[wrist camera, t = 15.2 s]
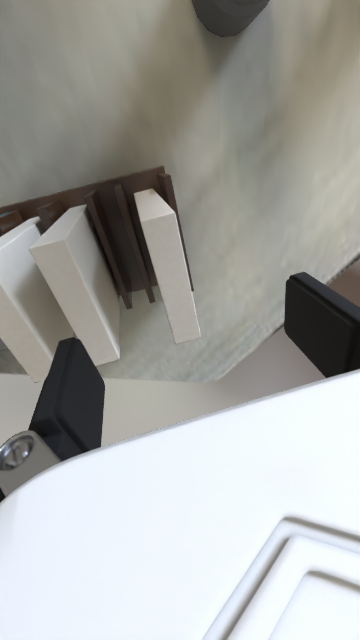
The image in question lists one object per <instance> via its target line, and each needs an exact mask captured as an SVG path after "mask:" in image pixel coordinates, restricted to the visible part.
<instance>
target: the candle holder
mask: <svg viewBox="0 0 360 640" xmlns="http://www.w3.org/2000/svg"><path fill="white" fill-rule="evenodd" d="M192 2H193V5H194V8H195V11H196V13H197V16H198V18H199V19H200V20H201V22H202V23H203V24H204V25H205V27H206V28H207V29H208V30H209V31H211V32H213V33H215V34H217V35H219V36H221V37H224V36H232V35H236V34H238V33H239V32H240V31H241V30H243V29H244V28H245V27H247V26H248V25H249V24H250V23H251V22H252V21H253V20H254V19H255V17H256V16H257V15H258V14H259V13H260V12H261V11H262V10H263V9H264V8H265V7H266V5H267V3H268V2H269V0H192Z"/></svg>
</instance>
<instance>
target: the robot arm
mask: <svg viewBox="0 0 360 640" xmlns="http://www.w3.org/2000/svg"><path fill="white" fill-rule="evenodd" d="M284 329H285V332H286V334H287V335H288V337H289V338H290V339H291V340H292V341H293V342H294V343H295V344H296V345H297V346H298V347H299V349H300V350H301V351H302V352H303V353H304V354H305V355H306V356H307V357H308V359H309V360H310V361H311V362H312V363H313V364H314V365H315V366H316V367H317V368H318V370H319V371H320V372H321V373H322V374H323V375H324V376H325V377H326V379H323V380H319V381H316V382H313V383H309V384H306V385H302V386H299V387H296V388H292V389H289V390H285V391H282V392H279V393H275V394H272V395H269V396H265V397H262V398H258V399H255V400H252V401H249V402H245V403H242V404H239V405H235V406H232V407H229V408H225V409H222V410H219V411H215V412H212V413H209V414H205V415H203V416H199V417H196V418H192V419H189V420H186V421H183V422H179V423H176V424H173V425H169V426H166V427H163V428H160V429H157V430H153V431H150V432H147V433H144V434H140V435H137V436H134V437H131V438H128V439H124V440H121V441H118V442H115V443H112V444H109V445H106V446H103V447H101V437H102V423H103V422H102V421H103V408H104V394H105V385H104V381H103V379H102V377H101V375H100V374H99V372H98V370H97V368H96V367H95V365H94V363H93V361H92V359H91V358H90V356H89V354H88V352H87V350H86V349H85V347H84V345H83V343H82V341H81V340H80V339H75V338H74V337H71V338H67V339H64V340H60V341H59V343H58V346H57V349H56V352H55V355H54V358H53V361H52V364H51V367H50V370H49V373H48V376H47V377H46V379H45V381H44V384H43V387H42V390H41V393H40V396H39V399H38V402H37V405H36V408H35V411H34V414H33V417H32V420H31V423H30V426H29V429H28V430H27V431H23V432H20V433H18V434H16V435H14V436H12V437H11V438H9V439H8V440H7V441H6V442H5V443H4V444H3V445H2V446H1V447H0V640H360V307H358V306H356V305H355V304H353V303H352V302H350V301H349V300H347V299H346V298H344V297H343V296H341V295H339V294H338V293H336V292H335V291H333V290H332V289H330V288H329V287H327V286H326V285H324V284H323V283H321V282H320V281H318V280H316V279H315V278H313V277H312V276H310V275H309V274H307V273H305V272H301V273H298V274H294V275H291V276H290V277H289V279H288V280H287V281H286V294H285V322H284Z"/></svg>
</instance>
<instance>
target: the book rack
mask: <svg viewBox="0 0 360 640" xmlns="http://www.w3.org/2000/svg"><path fill="white" fill-rule="evenodd" d="M148 189H153V190H154V191H155V192H156V193H157V194H158V195H159V196H160V197H161V198H162V199H163V200H164V201H165V202H166V203H167V204H168V206H169V207H170V208H171V209H172V210H173V211H174V212H175V214H176V218H177V223H178V228H179V233H180V238H181V242H182V247H183V252H184V257H185V262H186V267H187V271H188V276H189V281H190V286H191V291H194V289H193V284H192V279H191V274H190V269H189V265H188V260H187V255H186V250H185V245H184V240H183V235H182V230H181V225H180V220H179V215H178V210H177V205H176V200H175V195H174V190H173V185H172V180H171V176H170V175H169V174H166V173H165V170H164V166H160V167H156V168H152V169H148V170H144V171H140V172H136V173H132V174H128V175H125V176H121V177H117V178H113V179H109V180H105V181H101V182H97V183H93V184H90V185H86V186H82V187H78V188H74V189H70V190H66V191H62V192H58V193H54V194H51V195H47V196H43V197H39V198H35V199H31V200H27V201H23V202H19V203H16V204H12V205H8V206H4V207H0V237H1V236H3V235H4V234H6V233H8V232H9V231H11V230H12V229H14V228H16V227H17V226H19V225H21V224H22V223H24V222H25V221H27V220H29V219H31V218H34V217H38V216H39V218H40V220H41V222H42V224H43V226H44V228H45V230H46V231H47V230H48V229H49V228H50V227H51V226H52V225H53V224H54V223H55V222H56V221H57V220H58V219H59V218H60V217H61V216H62V215H63V214H64V213H65V212H66V211H67V210H69V209H70V208H73V207H77V206H81V205H85V204H87V207H88V209H89V212H90V214H91V217H92V220H93V222H94V225H95V227H96V230H97V233H98V235H99V238H100V240H101V243H102V246H103V248H104V251H105V253H106V256H107V259H108V261H109V264H110V266H111V269H112V272H113V274H114V277H115V279H116V282H117V285H118V287H119V295H122V298H123V300H124V303H125V305H126V308H127V309H131V308H132V292H134V291H137V290H141V289H146V292H147V295H148V298H149V301H150V303H153V302H155V297H154V292H153V287H152V286H156V285H158V282H157V278H156V275H155V271H154V268H153V264H152V261H151V257H150V254H149V250H148V247H147V243H146V240H145V236H144V233H143V229H142V226H141V222H140V218H139V214H138V210H137V206H136V202H135V197H134V193H136V192H140V191H144V190H148Z"/></svg>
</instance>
